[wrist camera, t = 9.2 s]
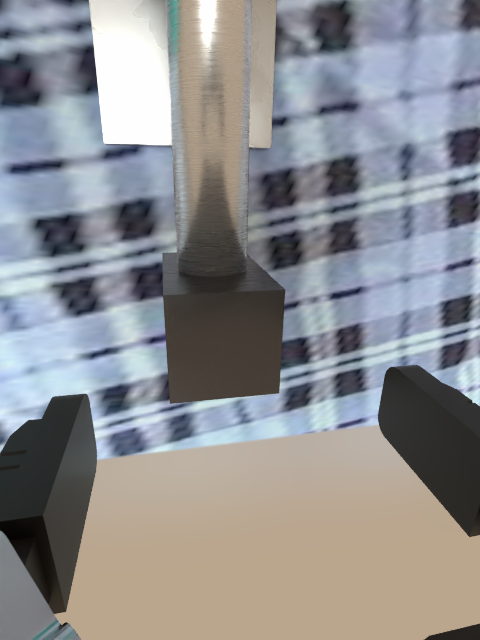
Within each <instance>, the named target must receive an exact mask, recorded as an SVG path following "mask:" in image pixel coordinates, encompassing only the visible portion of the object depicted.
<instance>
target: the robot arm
mask: <svg viewBox="0 0 480 640" xmlns="http://www.w3.org/2000/svg"><path fill="white" fill-rule="evenodd" d="M378 421H379V426H380V429H381V431H382V433H383V435H384V437H385V438H386V439H387V440H388V441H389V443H390V444H391V445H392V446H393V447H394V448H395V449H396V451H397V452H398V453H399V454H400V456H401V457H402V458H403V459H404V460H405V462H406V463H407V464H408V465H409V466H410V467H411V469H412V470H413V471H414V472H415V473H416V474H417V475H418V477H419V478H420V479H421V480H422V482H423V483H424V484H425V485H426V486H427V487H428V489H429V490H430V491H431V492H432V493H433V495H434V496H435V497H436V498H437V499H438V500H439V502H441V504H442V505H443V506H444V507H445V509H446V510H447V511H448V512H449V513H450V515H451V516H452V517H453V518H454V519H455V520H456V522H457V523H458V524H459V525H460V526H461V528H462V529H463V530H464V531H465V532H466V533H467V535H468V536H469V537H472V536H477V535H480V406H478V405H477V404H476V403H472V400H470V399H469V398H468V397H466V396H465V395H464V394H462V393H461V392H459V391H458V390H457V389H454V388H452V387H450V386H448V385H446V384H444V383H442V382H440V381H439V380H438V379H436V378H435V377H434V376H432V375H431V374H429V373H428V372H427V371H425V370H424V369H423V368H421V367H420V366H418V365H409V366H398V367H390V368H389V369H388V370H387V371H386V374H385V378H384V384H383V390H382V395H381V401H380V407H379V412H378ZM0 454H1V455H0V640H81V638H80V637H79V636H78V634H77V633H76V631H75V630H74V629H73V627H72V626H71V625H70V624H68V623H64V624H63V625H61V624H60V623H59V621H58V620H57V618H56V617H55V615H54V614H56V613H61V612H66V609H67V604H68V600H69V595H70V590H71V586H72V581H73V576H74V571H75V567H76V562H77V558H78V552H79V548H80V543H81V539H82V534H83V529H84V525H85V519H86V515H87V511H88V506H89V501H90V496H91V491H92V487H93V482H94V478H95V473H96V465H97V449H96V441H95V434H94V428H93V421H92V415H91V408H90V402H89V398H88V396H87V394H78V395H67V396H55V397H53V398H52V399H51V401H50V403H49V405H48V407H47V409H46V411H45V413H44V415H43V417H42V419H37V420H28V421H27V422H26V423H25V424H23V425H22V426H21V427H20V428H19V429H18V430H16V431H15V432H14V433H13V434H12V435H11V436H10V437H9V439H8V441H7V442H6V444H5V446H4V448H3V450H2V451H1V453H0ZM425 640H480V624H477V625H472V626H468V627H464V628H460V629H456V630H452V631H448V632H443V633H439V634H435V635H431V636H429V637H427V638H426V639H425Z"/></svg>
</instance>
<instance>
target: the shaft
mask: <svg viewBox="0 0 480 640" xmlns="http://www.w3.org/2000/svg"><path fill="white" fill-rule="evenodd" d="M165 1H166V23H167V44H168V66H169V87H170V109H171V130H172V151H173V173H174V194H175V216H176V237H177V253H163V300H164V316H165V332H166V348H167V364H168V380H169V396H170V404H171V403H182V402H192V401H203V400H213V399H224V398H234V397H245V396H255V395H266V394H276V393H279V386H280V369H281V351H282V334H283V316H284V299H285V289H284V288H283V287H282V286H280V285H279V284H278V283H277V282H276V281H275V280H274V279H273V278H272V277H271V276H270V275H269V274H268V273H266V272H265V271H264V270H263V269H262V268H261V267H260V266H259V265H258V264H257V263H256V262H255V261H254V260H252V259H251V258H250V257H249V256H248V255H247V226H248V174H249V123H250V71H251V19H252V0H165Z"/></svg>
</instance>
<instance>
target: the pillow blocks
mask: <svg viewBox="0 0 480 640" xmlns="http://www.w3.org/2000/svg"><path fill="white" fill-rule="evenodd" d="M276 2H277V0H252V19H251V71H250V123H249V148H254V149H268V148H271V133H272V107H273V80H274V54H275V28H276ZM89 5H90V14H91V24H92V33H93V43H94V52H95V62H96V71H97V81H98V90H99V100H100V109H101V119H102V128H103V138H104V143H105V144H109V145H145V146H172V130H171V109H170V87H169V66H168V44H167V23H166V1H165V0H89Z"/></svg>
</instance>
